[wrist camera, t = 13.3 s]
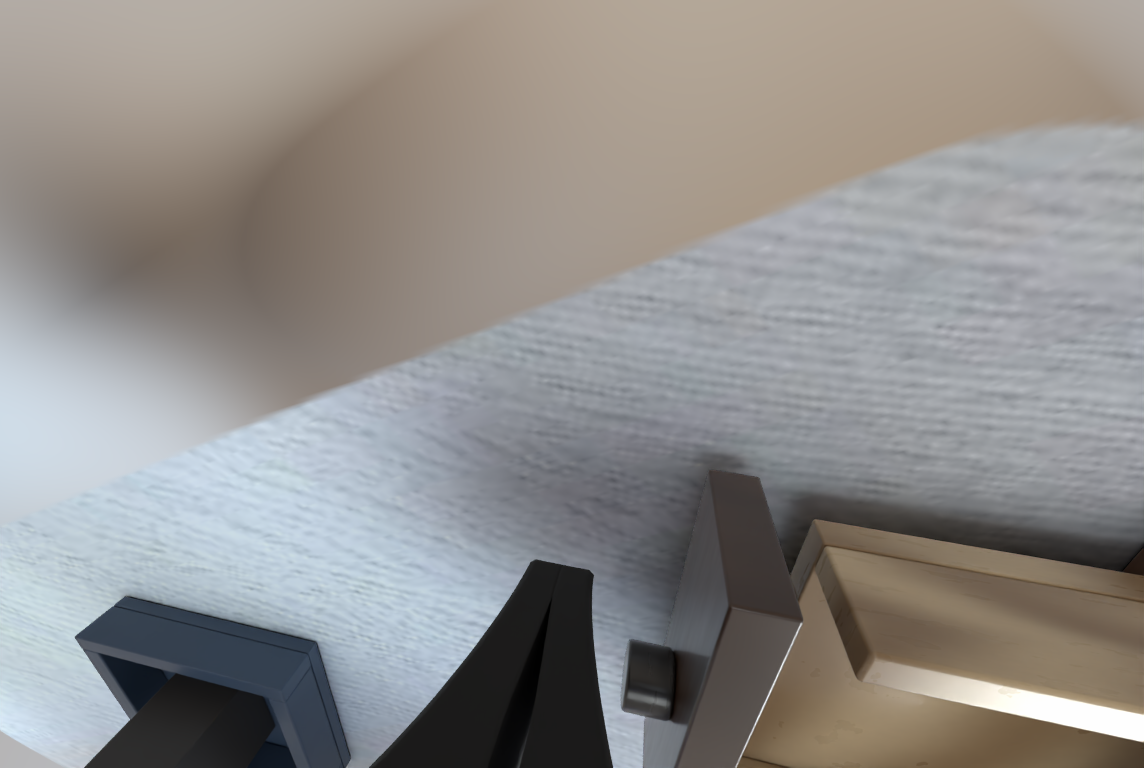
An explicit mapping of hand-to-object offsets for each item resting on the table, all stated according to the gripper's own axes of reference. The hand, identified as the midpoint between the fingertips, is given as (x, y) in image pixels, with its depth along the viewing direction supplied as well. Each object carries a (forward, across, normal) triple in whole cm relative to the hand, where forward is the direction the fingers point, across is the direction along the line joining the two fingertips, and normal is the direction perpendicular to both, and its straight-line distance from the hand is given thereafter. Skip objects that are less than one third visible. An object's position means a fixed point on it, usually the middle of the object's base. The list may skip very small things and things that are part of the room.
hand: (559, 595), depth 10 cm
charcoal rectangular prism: (+3, +16, +15) cm, 22 cm away
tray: (+3, +16, +15) cm, 22 cm away
